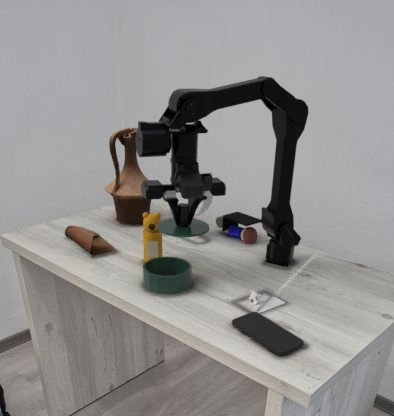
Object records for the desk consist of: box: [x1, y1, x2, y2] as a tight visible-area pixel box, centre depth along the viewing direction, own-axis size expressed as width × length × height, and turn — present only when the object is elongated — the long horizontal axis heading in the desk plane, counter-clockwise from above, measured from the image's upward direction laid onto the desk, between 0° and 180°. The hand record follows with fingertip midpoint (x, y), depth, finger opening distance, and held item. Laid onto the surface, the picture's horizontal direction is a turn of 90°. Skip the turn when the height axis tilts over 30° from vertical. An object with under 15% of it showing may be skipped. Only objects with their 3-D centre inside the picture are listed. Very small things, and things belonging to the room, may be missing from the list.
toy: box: [142, 211, 164, 263], centre depth 120 cm, size 5×5×13 cm
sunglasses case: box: [64, 225, 117, 258], centre depth 132 cm, size 18×7×7 cm
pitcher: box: [104, 126, 152, 226], centre depth 143 cm, size 18×17×28 cm
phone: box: [231, 311, 305, 356], centre depth 95 cm, size 7×1×15 cm
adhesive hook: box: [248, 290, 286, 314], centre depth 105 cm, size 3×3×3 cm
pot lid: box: [157, 203, 210, 238], centre depth 108 cm, size 13×13×6 cm
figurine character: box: [215, 211, 261, 245], centre depth 138 cm, size 7×8×15 cm
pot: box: [142, 256, 193, 295], centre depth 112 cm, size 12×12×5 cm
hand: (183, 225), depth 109 cm, fingers closed on pot lid, 3 cm apart
